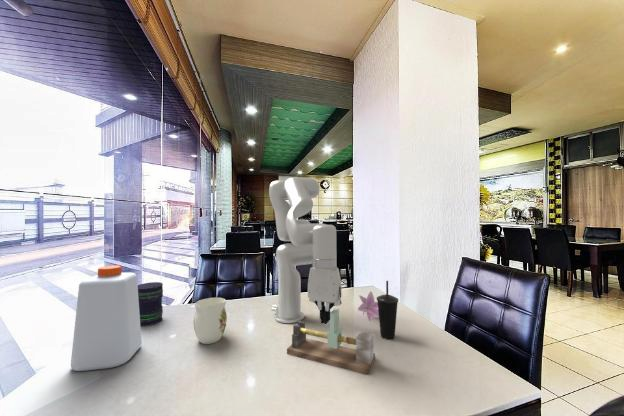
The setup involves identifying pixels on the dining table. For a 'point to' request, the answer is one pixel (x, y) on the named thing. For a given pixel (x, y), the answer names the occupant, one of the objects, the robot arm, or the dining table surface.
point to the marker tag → (334, 330)
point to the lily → (369, 306)
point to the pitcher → (210, 319)
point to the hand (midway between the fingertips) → (325, 322)
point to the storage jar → (150, 303)
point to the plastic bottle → (106, 320)
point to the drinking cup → (387, 314)
